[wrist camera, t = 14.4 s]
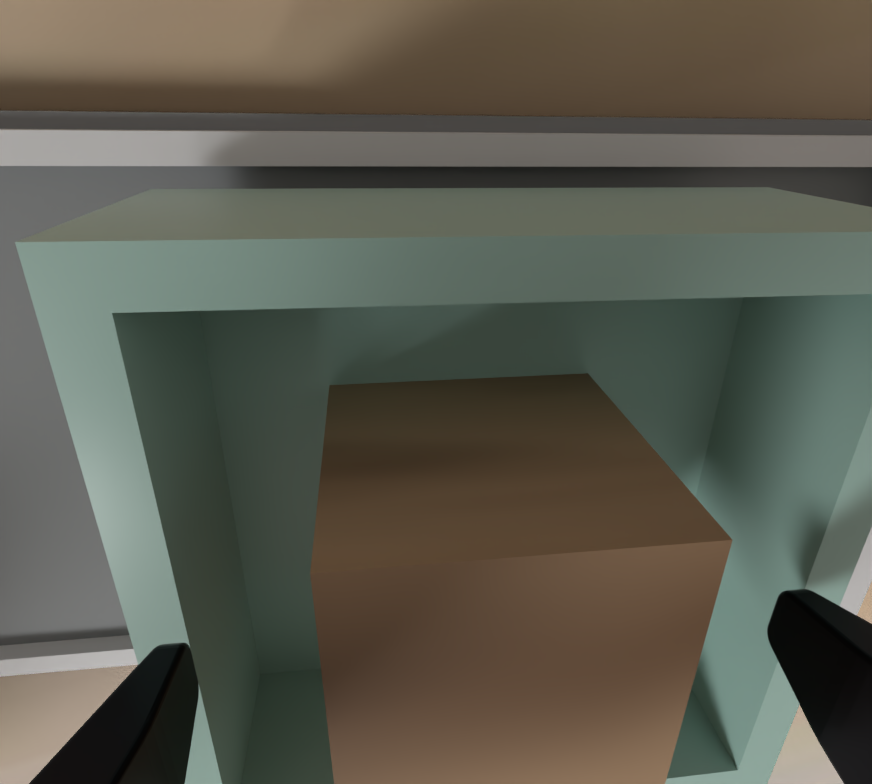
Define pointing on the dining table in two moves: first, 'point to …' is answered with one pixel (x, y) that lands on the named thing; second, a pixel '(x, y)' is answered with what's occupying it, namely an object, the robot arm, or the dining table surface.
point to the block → (504, 585)
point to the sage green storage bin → (446, 360)
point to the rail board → (296, 169)
